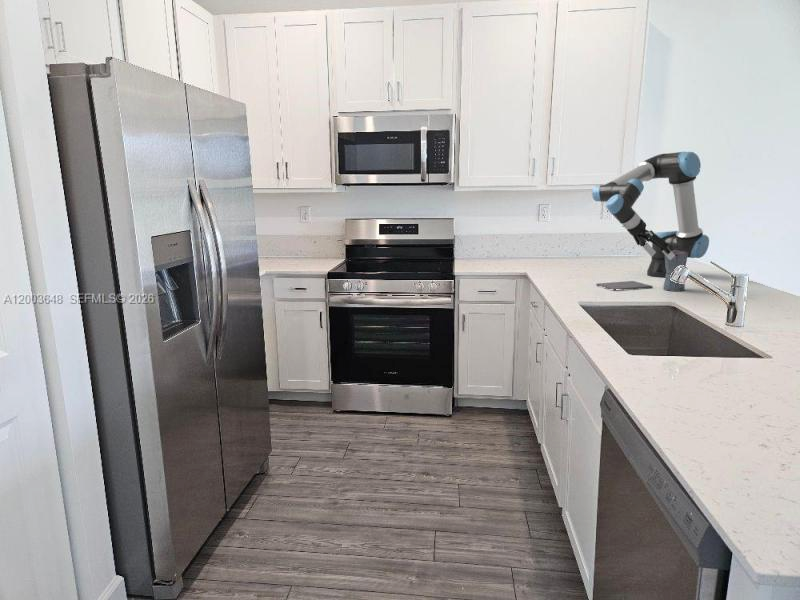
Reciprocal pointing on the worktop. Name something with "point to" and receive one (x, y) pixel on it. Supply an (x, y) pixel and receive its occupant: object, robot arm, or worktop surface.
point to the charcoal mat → (624, 285)
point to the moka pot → (670, 265)
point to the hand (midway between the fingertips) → (662, 256)
